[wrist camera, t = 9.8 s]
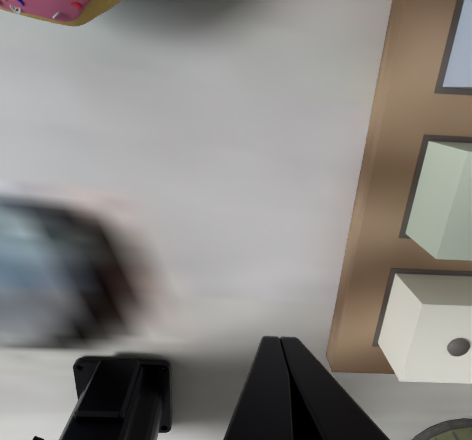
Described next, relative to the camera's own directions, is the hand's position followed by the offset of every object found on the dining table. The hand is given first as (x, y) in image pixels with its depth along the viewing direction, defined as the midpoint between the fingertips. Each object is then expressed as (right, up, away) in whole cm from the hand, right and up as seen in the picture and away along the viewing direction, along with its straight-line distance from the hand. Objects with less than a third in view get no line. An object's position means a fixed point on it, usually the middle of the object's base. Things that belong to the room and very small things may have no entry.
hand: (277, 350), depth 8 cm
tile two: (+11, +5, +10) cm, 15 cm away
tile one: (+11, -2, +12) cm, 16 cm away
